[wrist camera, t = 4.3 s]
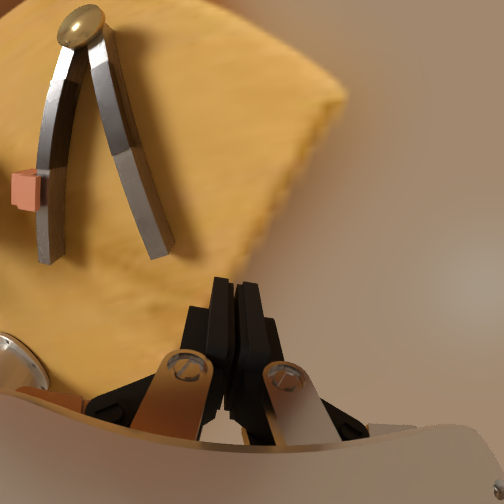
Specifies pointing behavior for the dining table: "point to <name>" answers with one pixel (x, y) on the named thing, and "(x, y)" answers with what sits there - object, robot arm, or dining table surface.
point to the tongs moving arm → (127, 145)
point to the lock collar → (26, 190)
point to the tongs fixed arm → (62, 126)
